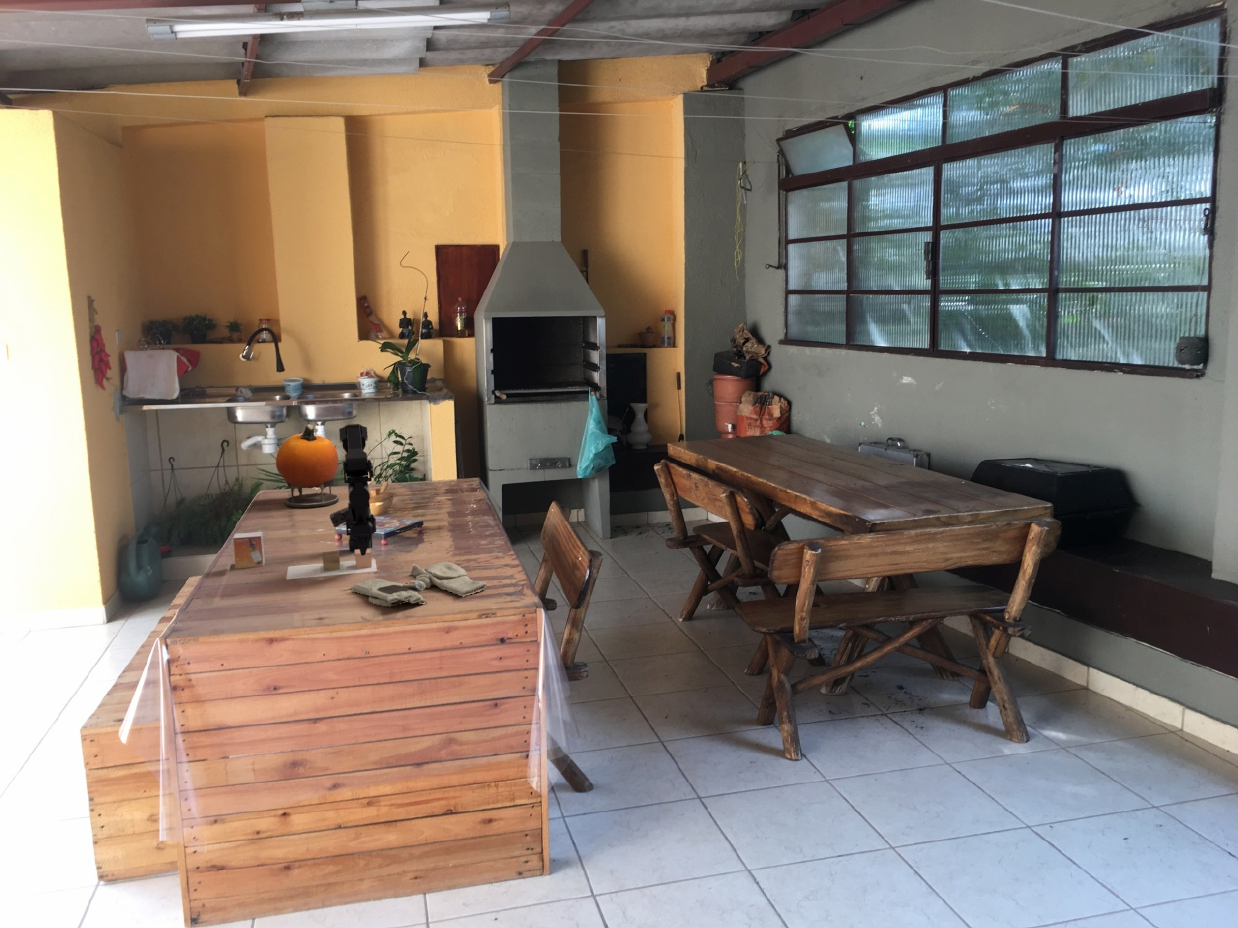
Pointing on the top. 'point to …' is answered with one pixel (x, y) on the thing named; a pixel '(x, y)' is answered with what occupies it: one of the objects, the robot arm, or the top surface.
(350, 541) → the robot arm
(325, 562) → the walnut block
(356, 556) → the terracotta block
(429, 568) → the pair of gloves
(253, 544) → the small box
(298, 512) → the top surface
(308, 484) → the pumpkin
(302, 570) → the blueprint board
